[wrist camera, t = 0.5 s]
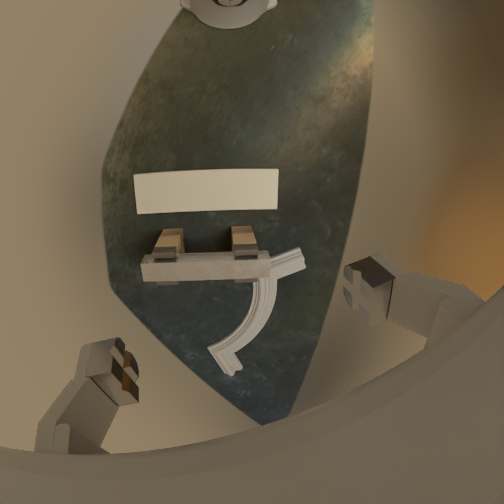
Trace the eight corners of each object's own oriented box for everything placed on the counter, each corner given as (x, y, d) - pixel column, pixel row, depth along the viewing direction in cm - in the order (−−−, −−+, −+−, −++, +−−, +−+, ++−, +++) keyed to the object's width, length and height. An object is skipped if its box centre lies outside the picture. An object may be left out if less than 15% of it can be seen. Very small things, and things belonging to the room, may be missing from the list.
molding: (237, 372, 76) (238, 380, 73) (197, 363, 73) (197, 371, 70) (312, 251, 62) (316, 257, 59) (265, 231, 58) (267, 236, 56)
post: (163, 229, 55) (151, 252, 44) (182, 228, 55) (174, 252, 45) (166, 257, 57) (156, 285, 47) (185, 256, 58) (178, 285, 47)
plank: (134, 174, 49) (133, 174, 48) (277, 168, 52) (278, 169, 51) (138, 212, 53) (137, 214, 52) (276, 207, 56) (276, 209, 55)
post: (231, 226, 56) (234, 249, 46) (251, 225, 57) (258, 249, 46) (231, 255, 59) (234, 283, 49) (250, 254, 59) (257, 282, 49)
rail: (145, 254, 47) (140, 263, 44) (267, 250, 49) (271, 259, 46) (147, 271, 48) (143, 281, 45) (266, 267, 51) (270, 277, 48)
